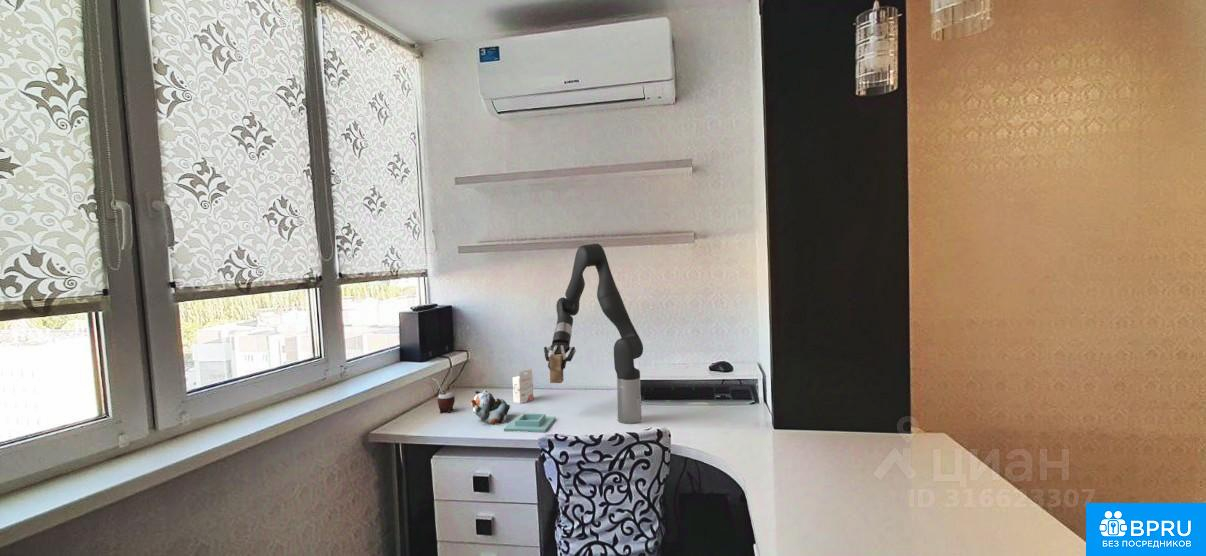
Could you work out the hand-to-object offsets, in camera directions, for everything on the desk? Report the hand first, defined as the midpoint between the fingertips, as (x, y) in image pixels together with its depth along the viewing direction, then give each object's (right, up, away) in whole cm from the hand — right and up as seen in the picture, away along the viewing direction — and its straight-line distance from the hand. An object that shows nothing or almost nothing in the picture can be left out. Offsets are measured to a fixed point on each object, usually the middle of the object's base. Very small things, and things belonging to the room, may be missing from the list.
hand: (556, 368), depth 198 cm
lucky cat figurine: (-26, -21, -2) cm, 34 cm away
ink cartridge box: (-18, -20, +25) cm, 37 cm away
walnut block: (0, -6, +1) cm, 6 cm away
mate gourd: (-49, -21, +11) cm, 55 cm away
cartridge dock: (-9, -20, -9) cm, 24 cm away
